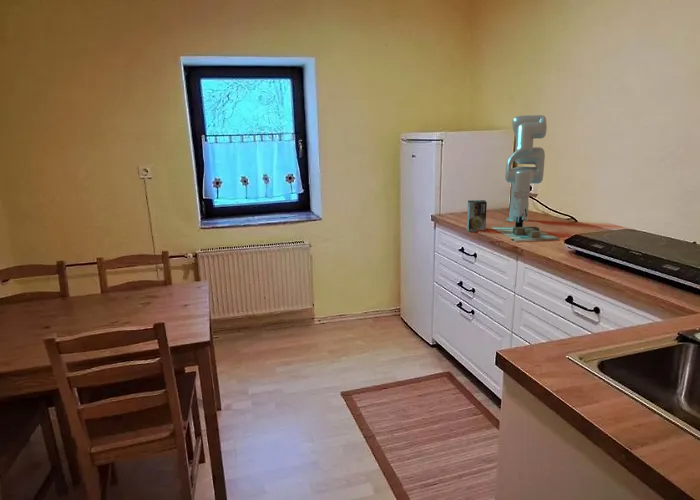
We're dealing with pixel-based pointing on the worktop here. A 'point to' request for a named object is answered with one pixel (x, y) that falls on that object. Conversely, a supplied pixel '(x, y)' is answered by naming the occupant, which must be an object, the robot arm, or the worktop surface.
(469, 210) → the coffee box
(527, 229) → the t block
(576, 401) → the worktop surface
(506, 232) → the board
